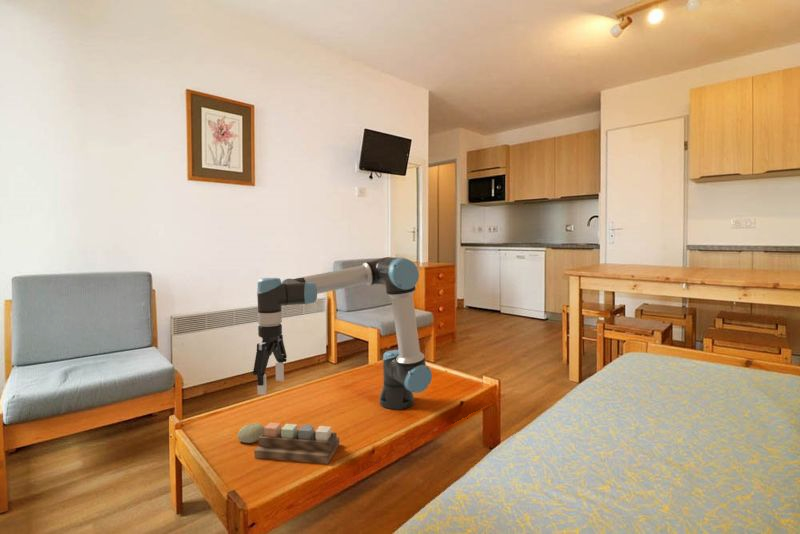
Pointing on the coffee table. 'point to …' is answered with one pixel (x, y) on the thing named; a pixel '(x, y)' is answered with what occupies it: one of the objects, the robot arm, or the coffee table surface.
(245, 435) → the sea urchin shell
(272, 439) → the brown stepped piece
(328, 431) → the ivory key
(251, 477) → the coffee table surface
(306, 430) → the slate key
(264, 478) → the coffee table surface
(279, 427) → the terracotta key
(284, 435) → the sage key
